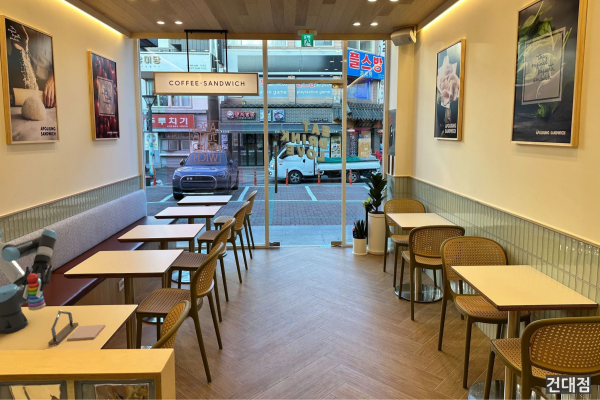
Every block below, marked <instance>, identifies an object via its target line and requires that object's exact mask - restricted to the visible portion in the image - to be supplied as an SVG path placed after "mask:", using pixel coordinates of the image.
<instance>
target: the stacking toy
mask: <svg viewBox="0 0 600 400" xmlns="http://www.w3.org/2000/svg"><path fill="white" fill-rule="evenodd" d="M38 278H39V275H38V274H35V273H32V274H31V273H30V275H28V277H27V280H28V282H29V284H28V286H29V288H28V290H29V292H28V294H29V296H28V298H29V299H28V302H27V305H28V307H27V308H28V310H29V311H38V310H42V309H44V308H45V307H46V305H47V304H46V302H45V299H44V298H45V297H44V296H43V293H42V292H41V296H40V298H38V297H36V294H37V290H38V287H39V282H37V281H38Z"/></svg>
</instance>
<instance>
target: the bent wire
mask: <svg viewBox="0 0 600 400" xmlns="http://www.w3.org/2000/svg"><path fill="white" fill-rule="evenodd" d="M61 314H64V315H68V320H69V323H67V324H66V325H65V326H64V327H63V328H62V329H61V330H60V331H59V332H58V333H56V326H57V323H58V321H59V319H60V316H61ZM73 320H74V319H73V316H72V312H71V311H65V310H61V309H59V310H58V312H57V316H56V318H55V320H54V322H53V324H52V327H51V335H52V338H51V339H50V340H49V341H48V342H47V344H48V346H58V345H60V344H61V343H62V342H63V341H64V340H65V339H67V338H68V337H69V336H70V335H71V334H72V333H73V332H74V331H75V330H76V329H77V328H78V327H79V322H74V321H73Z"/></svg>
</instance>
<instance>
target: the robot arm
mask: <svg viewBox="0 0 600 400" xmlns="http://www.w3.org/2000/svg"><path fill="white" fill-rule="evenodd" d="M2 234H3V233H2V231H1V229H0V270H1V272H2V273H3V274H4V276H5V277H6V279H8V281H9V282H10V283H9V284H6V285H2V286H0V333H5V334H11V333H15V332H17V331H21V330H22V329H24V328H26V327H27V326H28V325H29V322H28V321H29V320H28V318H27V316H26V315H25V313H23V310H22V305H25V304H28V303H29V302H28V299H29V298H28V296H29V294H28V292H29V290H28V288H29V286H28V284H29V282H28V280H27V277H28V275H30V274H32V273H35V274H37V275H38V274H40V277H38V281H37V282H39V287H38V290H37V294H36V297H38V298H40V296H41V292H42V294H43V293H44V291H45V286H47V285H49V284H50V282H51V277H52V273H53V271H54V269H55V268H54V266H52V265H50V263H51V260H52V259H51V258H52V256H53V251H54V248H55V245H56V243H57V237H58V234H57V232H56V231H55V230H53V229H45V230H42V233H41V236H38V237H36V238H33V239H30V240H27V241H24V242H20V243H17V244H11V243H7V242H2V240H3V238H2V236H3V235H2ZM30 255H34V260H33V263H32V265H31V266H26V267H25V270H24V269H23V268H22V266H20V264H19V263H18V262H17V260H20V259H22V258H25V257H28V256H30ZM14 331H15V332H14ZM10 332H11V333H10Z"/></svg>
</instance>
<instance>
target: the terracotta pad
mask: <svg viewBox="0 0 600 400" xmlns="http://www.w3.org/2000/svg"><path fill="white" fill-rule="evenodd" d="M105 328H106V324H96V325H93V324H92V325H80V326H79V325H78V326H77V327H76V328H75V329H74V330H73V331H72V332H71V333H70V334H69V335H68V336H67V337H66V339H67V341H79V340H80V341H81V339H82V340H94V339H96V337H98V336H99V334H100V333H101V332H102V331H103V330H104V329H105Z"/></svg>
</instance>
